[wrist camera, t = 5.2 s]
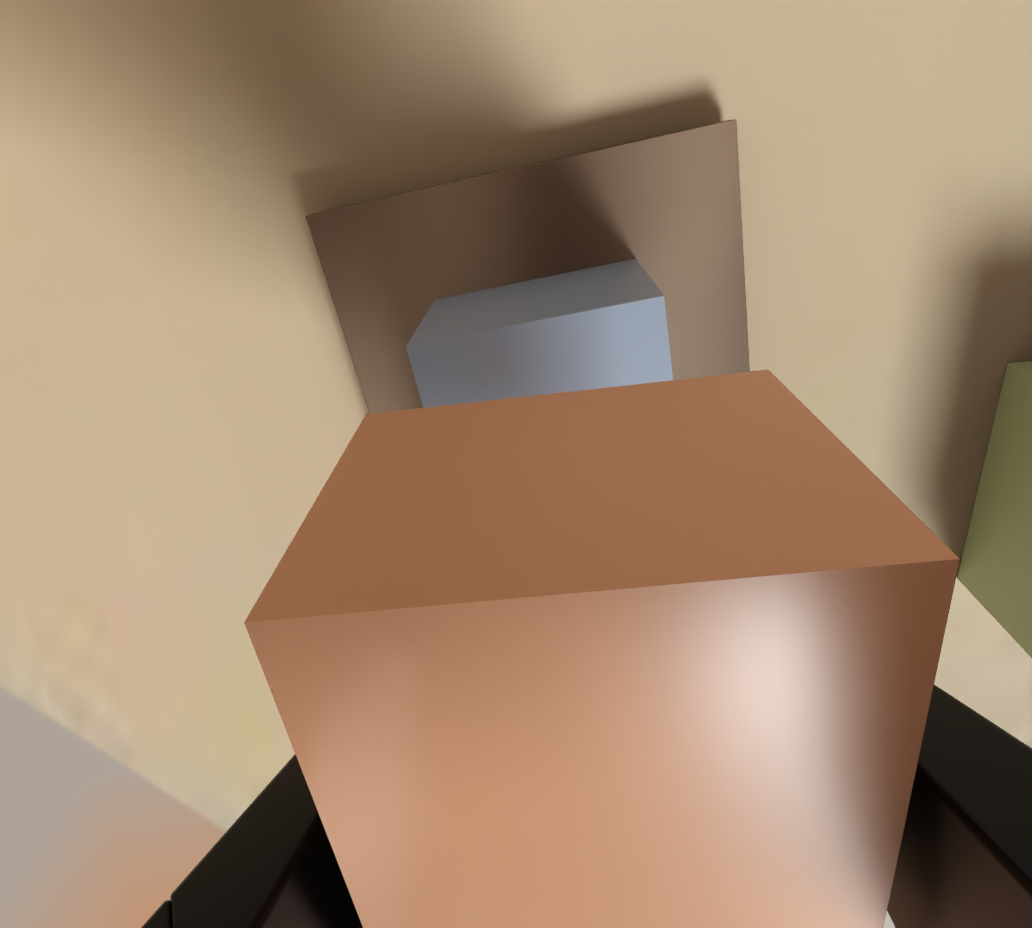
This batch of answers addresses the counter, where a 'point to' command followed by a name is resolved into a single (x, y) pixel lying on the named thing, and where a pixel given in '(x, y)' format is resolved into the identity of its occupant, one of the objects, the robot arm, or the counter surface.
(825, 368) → the counter surface
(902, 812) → the terracotta brick
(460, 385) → the base brick
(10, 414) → the counter surface
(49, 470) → the counter surface
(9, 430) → the counter surface
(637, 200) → the walnut board
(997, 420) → the olive brick
